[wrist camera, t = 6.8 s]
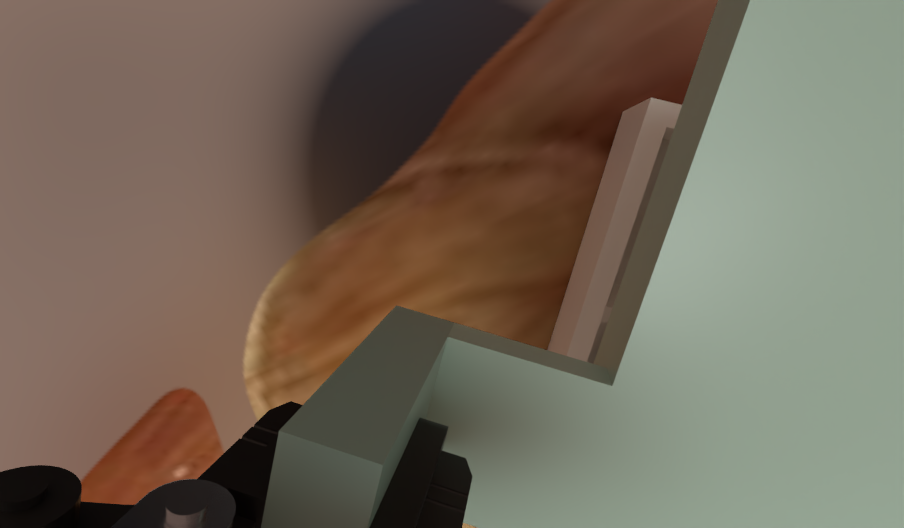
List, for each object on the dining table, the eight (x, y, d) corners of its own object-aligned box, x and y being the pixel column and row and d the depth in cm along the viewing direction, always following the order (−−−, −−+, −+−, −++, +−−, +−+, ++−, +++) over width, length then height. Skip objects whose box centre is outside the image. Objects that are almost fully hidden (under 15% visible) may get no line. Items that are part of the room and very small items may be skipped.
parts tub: (622, 111, 30) (651, 97, 22) (914, 182, 28) (1054, 194, 21) (526, 414, 35) (522, 489, 27) (771, 490, 33) (841, 593, 25)
